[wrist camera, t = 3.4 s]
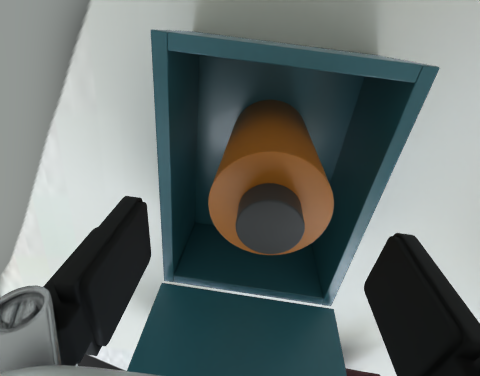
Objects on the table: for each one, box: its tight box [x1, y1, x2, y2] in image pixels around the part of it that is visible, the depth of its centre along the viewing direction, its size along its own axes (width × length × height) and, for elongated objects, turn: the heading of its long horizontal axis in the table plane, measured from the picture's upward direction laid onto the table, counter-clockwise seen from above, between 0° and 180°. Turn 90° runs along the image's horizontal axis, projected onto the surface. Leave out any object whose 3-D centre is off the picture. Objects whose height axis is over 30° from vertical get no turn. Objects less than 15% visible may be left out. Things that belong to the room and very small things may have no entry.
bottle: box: [208, 100, 334, 255], centre depth 17 cm, size 6×6×12 cm
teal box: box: [151, 30, 439, 306], centre depth 20 cm, size 18×14×8 cm
